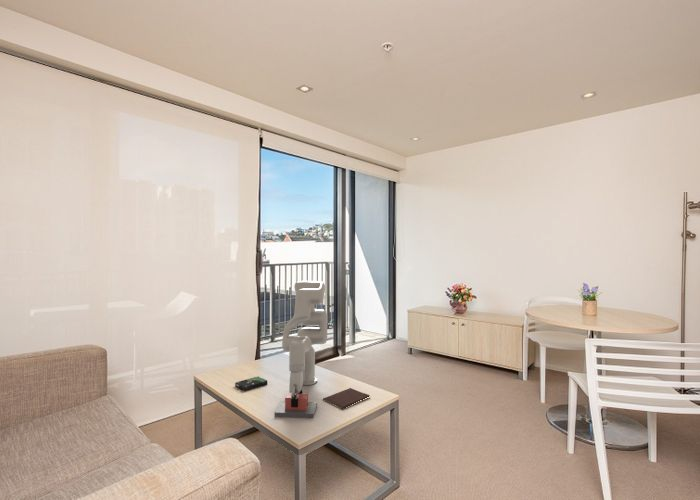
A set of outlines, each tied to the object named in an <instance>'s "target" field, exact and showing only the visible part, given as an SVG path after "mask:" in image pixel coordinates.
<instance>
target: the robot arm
mask: <svg viewBox="0 0 700 500" xmlns="http://www.w3.org/2000/svg"><path fill="white" fill-rule="evenodd" d="M325 285H326V284H325V283H324V282H323V281H322V280H320V281H319V280H301V281H296V282H295V283H294V291H295V301H294V312H293V317H292V318H291V319H289V320H288V322H286V325H285V327H284V329H283V334H282V342H281V345H282V346H281V347H282V350H283V351H284V352H287V353H289V355H288V357H289V360H288V361H289V362H288V371H289V372H290V373H289V374H290V375H289V389H288V391H289V392H288V393H292V396H291V407H298V394H303V386H311V385H314V384H316V383H318V378H317V377H316V374H315V369H316V366H315V365H316V351H315V348H314V347H313V345H325V344H326V343H327V341H328V313H327V311H326V309H323V308H318V309H317V308H316V307H315V305H322V303H323V301H324V297H325V293H326V286H325ZM300 324H301V325H302V326H308V327H301V328H299V329H298V331H297V333H296V335H293V336H292V335H290V332H291V330H292V329H293V328H294V327H296V326H298V325H300ZM309 326H311V327H309ZM315 326H316V327H315ZM317 326H318V327H317ZM295 394H296V395H295Z"/></svg>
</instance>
